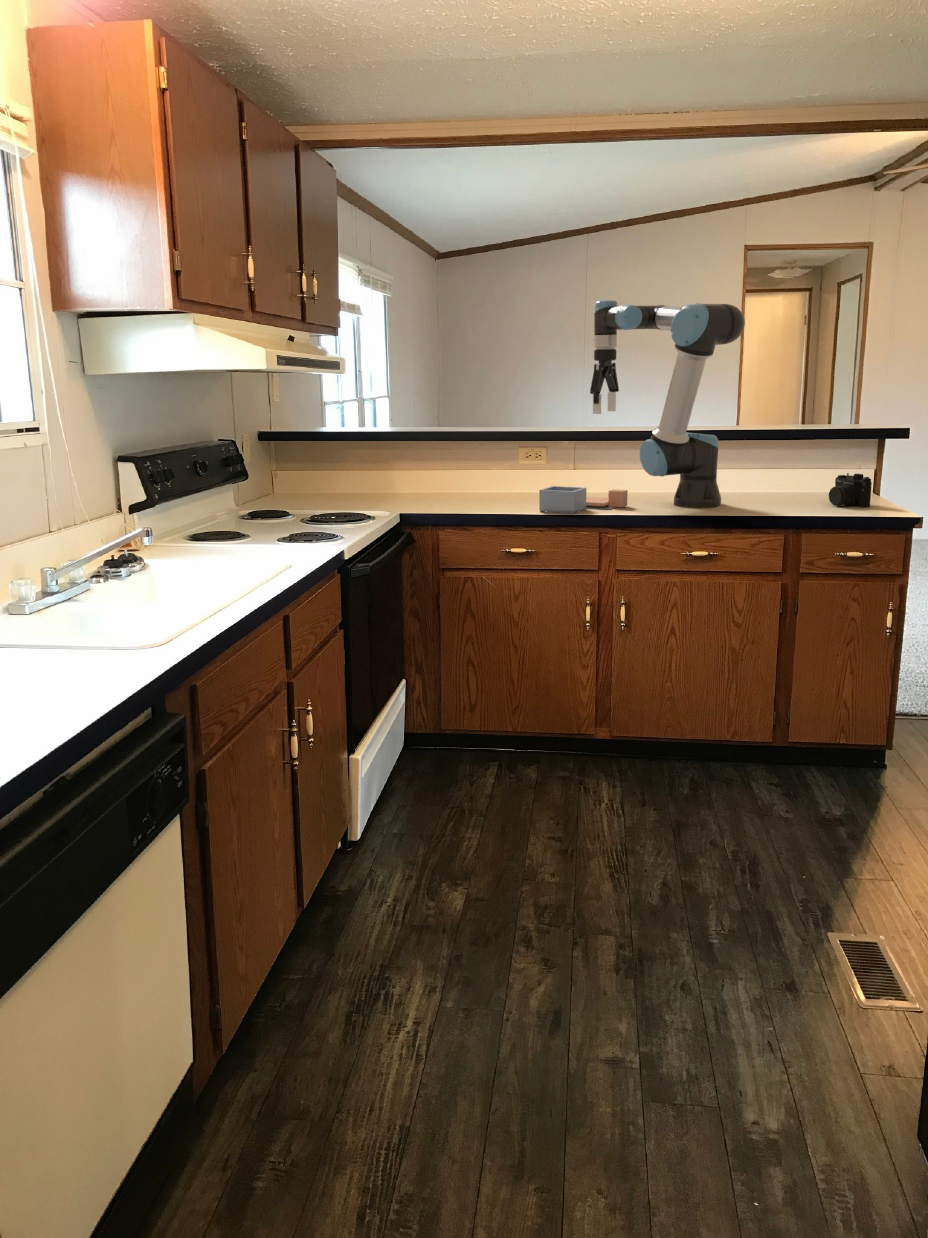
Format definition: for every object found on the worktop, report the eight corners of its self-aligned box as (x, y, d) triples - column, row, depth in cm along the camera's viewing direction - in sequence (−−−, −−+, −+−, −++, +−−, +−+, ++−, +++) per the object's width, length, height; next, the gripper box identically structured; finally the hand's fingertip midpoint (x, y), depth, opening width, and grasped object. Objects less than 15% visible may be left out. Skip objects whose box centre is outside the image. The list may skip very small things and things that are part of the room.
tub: (586, 509, 321) (586, 487, 319) (574, 513, 312) (574, 491, 310) (552, 507, 326) (552, 485, 324) (539, 511, 318) (539, 489, 316)
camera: (816, 503, 322) (818, 472, 319) (843, 501, 325) (845, 470, 322) (846, 509, 309) (848, 477, 306) (873, 507, 312) (876, 475, 310)
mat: (624, 504, 329) (624, 503, 329) (609, 509, 318) (609, 508, 318) (576, 501, 337) (576, 500, 337) (561, 506, 326) (561, 505, 326)
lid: (630, 504, 327) (631, 488, 325) (619, 508, 318) (619, 493, 316) (580, 501, 335) (580, 486, 334) (567, 505, 326) (567, 490, 325)
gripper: (608, 348, 348) (607, 409, 353) (580, 349, 327) (580, 414, 332) (628, 347, 344) (627, 410, 350) (602, 348, 323) (601, 414, 329)
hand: (604, 412), depth 341 cm, fingers open, 13 cm apart
